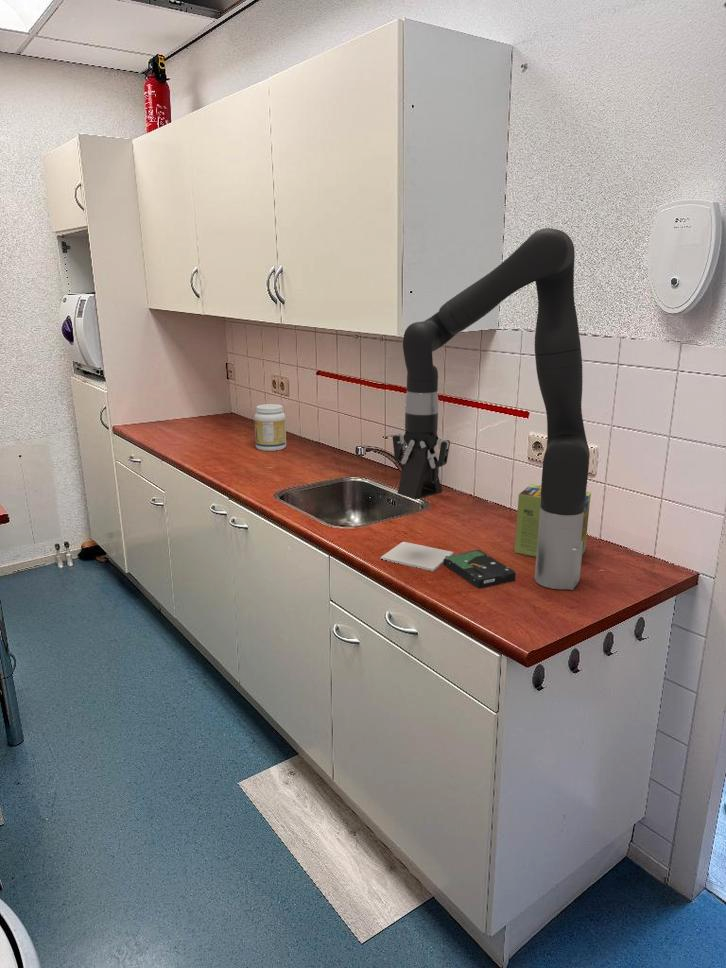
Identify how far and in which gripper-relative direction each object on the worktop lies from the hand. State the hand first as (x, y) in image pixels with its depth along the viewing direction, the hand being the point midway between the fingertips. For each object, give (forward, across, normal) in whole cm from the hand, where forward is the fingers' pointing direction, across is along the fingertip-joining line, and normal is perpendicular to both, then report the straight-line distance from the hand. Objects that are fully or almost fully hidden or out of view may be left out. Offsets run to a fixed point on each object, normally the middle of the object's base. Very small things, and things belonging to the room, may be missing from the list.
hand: (419, 480), depth 163 cm
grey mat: (+19, 0, 0) cm, 19 cm away
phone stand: (+3, 0, 0) cm, 3 cm away
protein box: (+20, -27, -20) cm, 39 cm away
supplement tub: (+19, +100, -72) cm, 125 cm away
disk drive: (+20, -16, +1) cm, 26 cm away
